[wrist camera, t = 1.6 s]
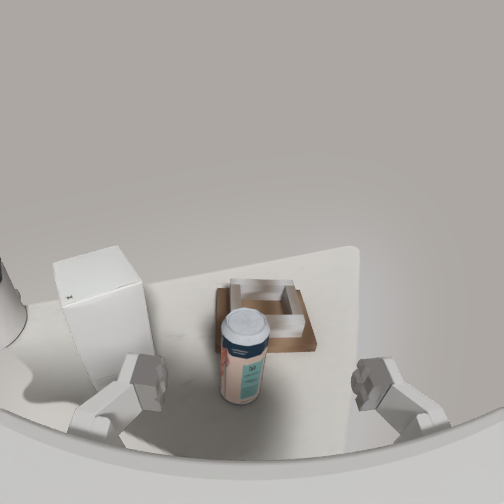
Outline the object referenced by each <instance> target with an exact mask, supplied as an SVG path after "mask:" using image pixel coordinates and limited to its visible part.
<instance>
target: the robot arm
mask: <svg viewBox="0 0 504 504" xmlns="http://www.w3.org/2000/svg"><path fill="white" fill-rule="evenodd" d="M26 317H27V313H26V309H25V307H24V306H23V304H22V303H21V301H20V293H19V292H18V290H17V289H14V287H13V285H12V282H11V280H10V278H9V276H8V274H7V272H6V269H5V267H4V265H3V263H2V262H1V258H0V350H1V349H3V348H5V347H6V346H8V345H9V344H10V343H11V342H13V341H14V340H15V339H16V338H17V336H18V335H19V334H20V332H21V331H22V329H23V327H24V325H25V322H26ZM164 365H165V360H164V357H161V356H154V355H146V354H139V353H132V352H128V353H127V355H126V357H125V360H124V362H123V365H122V368H121V371H120V374H119V377H118V380H117V381H113V382H112V383H110V384H109V385H108V386H106V387H105V388H104V389H102V390H101V391H100V392H98V393H97V394H96V395H94V396H93V397H92V398H90V399H89V400H87V401H86V402H85V403H83V404H82V405H81V406H79V407H78V408H77V409H76V410H75V412H74V415H73V417H72V420H71V423H70V426H69V428H68V431H67V433H64V432H61V431H58V430H55V429H52V428H50V427H47V426H44V425H41V424H39V423H36V422H33V421H31V420H28V419H26V418H23V417H21V416H18V415H16V414H14V413H11V412H9V411H7V410H4V409H0V504H504V407H501V408H498V409H496V410H493V411H491V412H489V413H487V414H485V415H482V416H480V417H477V418H475V419H472V420H470V421H467V422H464V423H462V424H459V425H456V426H454V427H451V425H450V423H449V421H448V418H447V416H446V414H445V412H444V410H443V408H442V407H441V406H440V405H438V404H437V403H435V402H434V401H432V400H431V399H430V398H428V397H427V396H425V395H424V394H423V393H421V392H420V391H418V390H417V389H416V388H414V387H413V386H411V385H410V384H409V383H404V381H403V379H402V377H401V375H400V372H399V370H398V368H397V366H396V364H395V362H394V360H393V358H392V357H382V358H371V359H360V360H359V361H358V363H357V368H358V369H357V370H355V371H354V372H353V374H352V377H351V388H352V391H353V392H354V393H355V394H356V395H357V397H356V399H355V400H356V403H357V406H358V409H359V411H366V410H374V409H376V411H377V412H378V413H379V414H380V415H381V416H382V417H384V419H385V420H386V421H387V422H388V423H389V424H390V425H391V426H392V427H393V428H394V429H395V430H396V431H397V432H398V433H400V436H399V437H398V438H397V439H396V440H395V442H394V443H393V444H392V445H387V446H383V447H378V448H374V449H368V450H363V451H357V452H352V453H345V454H338V455H330V456H322V457H313V458H302V459H287V460H260V461H239V460H212V459H198V458H187V457H177V456H169V455H162V454H154V453H149V452H142V451H137V450H132V449H127V448H126V447H125V446H124V444H123V442H122V441H121V439H120V437H119V436H118V435H119V434H120V433H121V432H122V431H123V430H124V429H125V428H126V427H127V426H128V425H129V424H130V423H131V422H132V421H133V420H134V419H135V418H136V417H137V416H138V415H139V413H140V412H141V411H142V410H150V411H159V412H162V408H163V403H164V396H163V393H164V392H165V391H166V387H167V370H166V369H165V368H164Z"/></svg>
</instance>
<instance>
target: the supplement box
mask: <svg viewBox="0 0 504 504" xmlns="http://www.w3.org/2000/svg"><path fill="white" fill-rule="evenodd" d="M53 271H54V276H55V282H56V286H57V291H58V295H59V300H60V304H61V308H62V311H63V314H64V316H65V319H66V322H67V325H68V327H69V330H70V333H71V335H72V338H73V340H74V343H75V345H76V348H77V350H78V352H79V355H80V357H81V359H82V362H83V364H84V366H85V368H86V371H87V373H88V375H89V377H90V379H91V381H92V383H93V385H94V387H95V389H96V391H97V393H98V392H100V391H101V390H102V389H104V388H105V387H106V386H108V385H109V384H110V383H112V382H113V381H117V380H118V377H119V374H120V371H121V368H122V365H123V362H124V360H125V357H126V355H127V353H128V352H132V353H139V354H146V355H154V356H156V355H155V350H154V345H153V340H152V334H151V329H150V323H149V317H148V311H147V305H146V299H145V292H144V286H143V281H142V279H141V278H140V276H139V275H138V274H137V272H136V271H135V269H134V268H133V266H132V265H131V264H130V262H129V260H128V259H127V257H126V256H125V255H124V253H123V252H122V250H121V249H120V247H119V246H118V245H116V246H112V247H108V248H105V249H101V250H98V251H94V252H91V253H87V254H83V255H80V256H76V257H72V258H68V259H65V260H62V261H58V262H55V263H53Z"/></svg>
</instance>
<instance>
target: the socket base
mask: <svg viewBox="0 0 504 504" xmlns="http://www.w3.org/2000/svg"><path fill="white" fill-rule="evenodd" d="M243 307H245V308H251V309H256V310H257V311H259V312H260V313H262V314H263V315H264V316H265V318H266V320H267V322H268V324H269V327H270V335H269V341H268V347H267V352H266V353H280V352H310V351H315V349H316V346H317V342H316V339H315V336H314V333H313V329H312V326H311V323H310V320H309V317H308V314H307V311H306V308H305V305H304V302H303V299H302V296H301V293H300V290H295V286H294V283H293V280H258V279H230V288H218V290H217V318H216V352H221V334H222V331H221V325H222V322H223V320H224V319H225V318H226V316H227V315H228V314H229V313H230V312H231V311H232V310H235V309H239V308H243Z"/></svg>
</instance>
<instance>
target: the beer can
mask: <svg viewBox="0 0 504 504" xmlns="http://www.w3.org/2000/svg"><path fill="white" fill-rule="evenodd" d="M221 331H222V334H221V385H220V390H221V394H222V395H223V397H224V398H225V399H226V400H228V401H229V402H232V403H234V404H247V403H250V402H252V401H253V400H255V399H256V398H257V396H258V394H259V391H260V386H261V380H262V375H263V369H264V364H265V358H266V352H267V347H268V341H269V335H270V327H269V324H268V322H267V320H266V318H265V316H264V315H263V314H262V313H260V312H259V311H257V310H256V309H251V308H245V307H243V308H239V309H235V310H232V311H231V312H230V313H229V314H228V315H227V316H226V318H225V319H224V320H223V322H222V325H221Z"/></svg>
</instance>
